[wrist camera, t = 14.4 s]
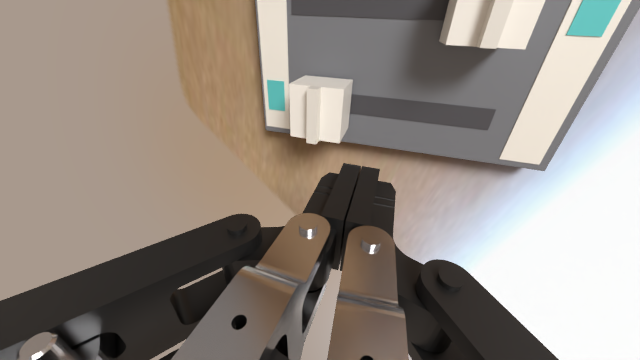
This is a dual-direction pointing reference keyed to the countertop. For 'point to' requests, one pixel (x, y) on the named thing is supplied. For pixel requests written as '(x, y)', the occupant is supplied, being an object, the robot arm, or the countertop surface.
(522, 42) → the tab
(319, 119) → the tab
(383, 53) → the switch panel
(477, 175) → the countertop surface
